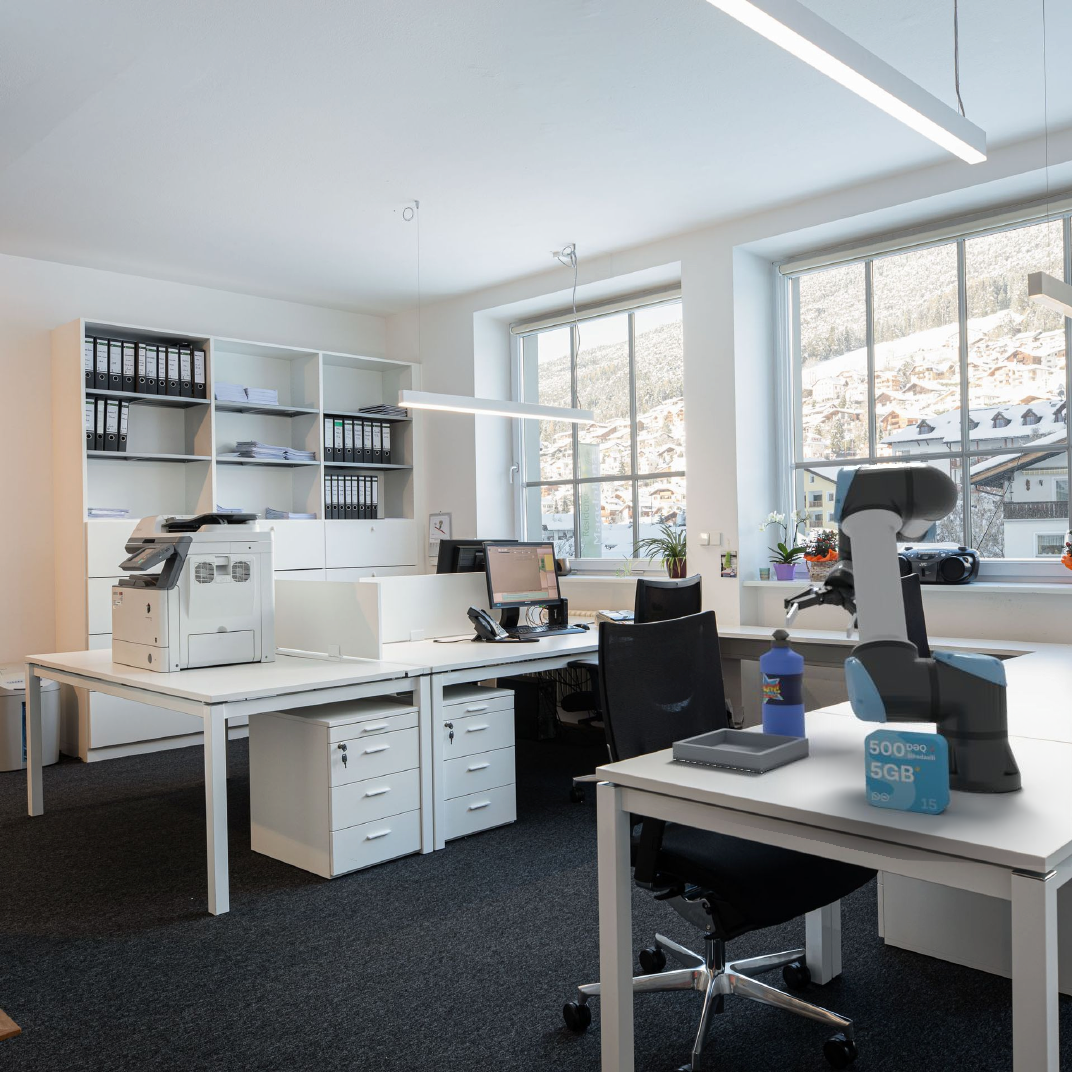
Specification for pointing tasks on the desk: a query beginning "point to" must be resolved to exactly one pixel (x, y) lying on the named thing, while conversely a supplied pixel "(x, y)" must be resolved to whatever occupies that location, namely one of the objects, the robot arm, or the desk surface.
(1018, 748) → the desk surface
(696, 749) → the tray
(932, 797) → the data package
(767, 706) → the water bottle
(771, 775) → the desk surface
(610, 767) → the desk surface
